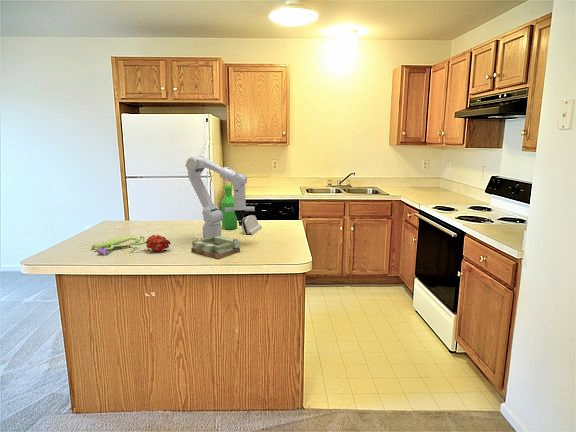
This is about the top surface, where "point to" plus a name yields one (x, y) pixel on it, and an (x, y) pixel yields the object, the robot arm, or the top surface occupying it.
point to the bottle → (228, 217)
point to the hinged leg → (227, 241)
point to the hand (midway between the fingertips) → (240, 225)
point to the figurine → (116, 243)
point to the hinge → (250, 225)
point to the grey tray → (213, 248)
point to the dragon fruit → (157, 243)
